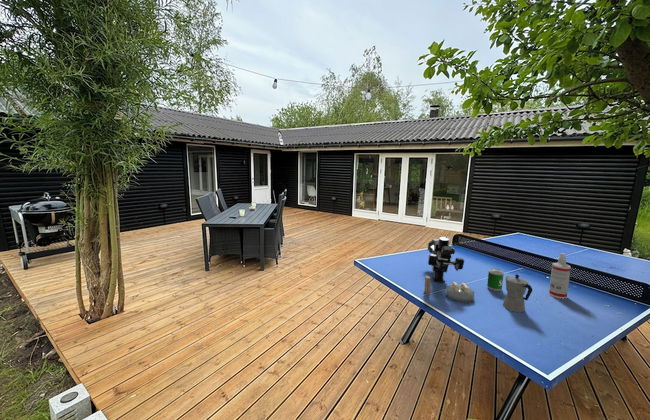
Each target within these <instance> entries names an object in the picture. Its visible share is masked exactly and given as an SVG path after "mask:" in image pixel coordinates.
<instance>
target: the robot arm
mask: <svg viewBox="0 0 650 420" xmlns="http://www.w3.org/2000/svg"><path fill="white" fill-rule="evenodd" d="M427 251H428V252H429V253H430V254H429V255H428V259H427V260H428V261H427V263H428V265H429V266H431V270H432V272H433V276H432V281H434V282H440V283H445V282H446V280H445V279H444V275H445V274H446V273H447V272H448V269H449V266H454V269H455V271H456V272H458V271H459V270H463V269H464V266H465V265H464V264H465V260H464V258H463V257H456V258H455V260H451V259H452V257H453V256H452V255H455V253H456V249H455V248H454V247H451V246H450V238H449V237H445V236H440V237H439V238H438V239H436V238H435V239H434V238H433V239H431V241H430V242H428V244H427Z"/></svg>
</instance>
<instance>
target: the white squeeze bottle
mask: <svg viewBox="0 0 650 420" xmlns="http://www.w3.org/2000/svg"><path fill="white" fill-rule="evenodd" d="M566 255H567V254H566V253H563V252H562V253H561V252H560V254H559V257H558V259H557V262H552V266H551V274H550V281H549V289H548V295H549V296H550V297H553V298H557V299H561V298H562V300H565V299H564V298H566V299H567V298H568V291H569V290H568V289H569V284H570V277H571V269H572V268H571V265H569V264H567V259H566V258H567V257H566Z"/></svg>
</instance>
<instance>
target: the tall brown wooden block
mask: <svg viewBox="0 0 650 420" xmlns="http://www.w3.org/2000/svg"><path fill="white" fill-rule="evenodd" d="M424 278H425V279H424V292H426V293H425V295H430V294H431V277H430V276H429V275H425V277H424Z"/></svg>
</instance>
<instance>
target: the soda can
mask: <svg viewBox="0 0 650 420" xmlns="http://www.w3.org/2000/svg"><path fill="white" fill-rule="evenodd" d="M504 275H505V274H504V272H503V271H502V270H501V269H499V268H490V269H489V270H488V274H487V283H486V284H487V285H486V286H487V288H488V289H489V290H491V291H493V292H501V291H502V290H503V284H504Z"/></svg>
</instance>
